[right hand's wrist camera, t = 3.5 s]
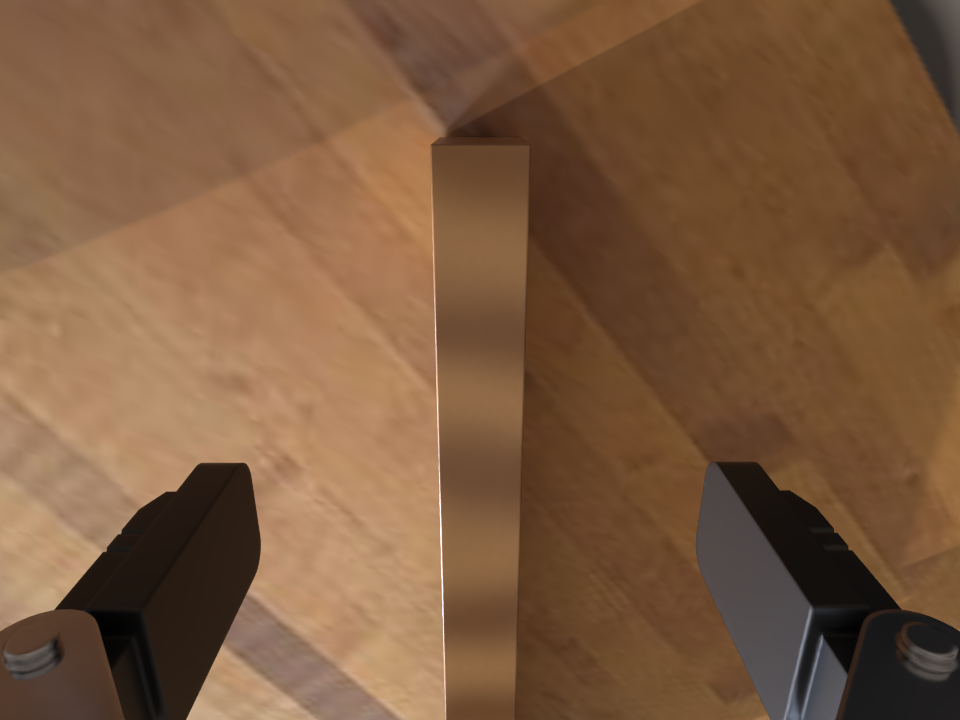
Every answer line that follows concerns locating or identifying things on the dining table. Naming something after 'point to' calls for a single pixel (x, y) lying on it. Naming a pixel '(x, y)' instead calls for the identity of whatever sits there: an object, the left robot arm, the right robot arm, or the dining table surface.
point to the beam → (480, 410)
